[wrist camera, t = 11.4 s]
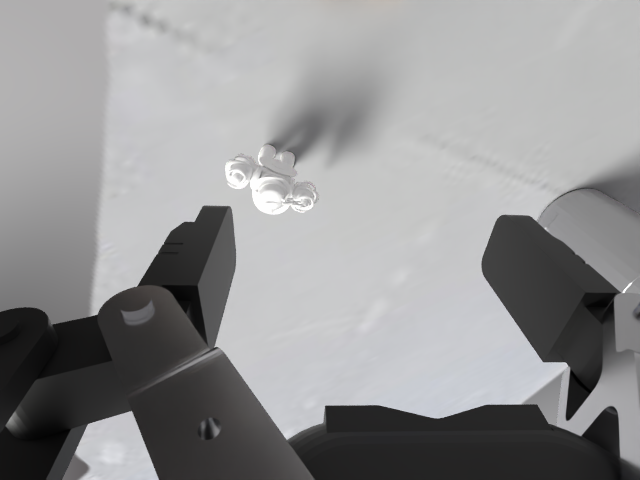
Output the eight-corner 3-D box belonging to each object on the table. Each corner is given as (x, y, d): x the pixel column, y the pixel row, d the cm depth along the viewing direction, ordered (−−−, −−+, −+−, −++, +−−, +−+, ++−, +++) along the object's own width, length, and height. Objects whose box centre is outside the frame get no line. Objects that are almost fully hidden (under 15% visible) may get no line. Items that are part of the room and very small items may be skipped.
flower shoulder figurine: (320, 157, 40) (327, 206, 29) (306, 186, 41) (308, 242, 31) (243, 124, 37) (222, 166, 27) (232, 157, 39) (208, 207, 29)
